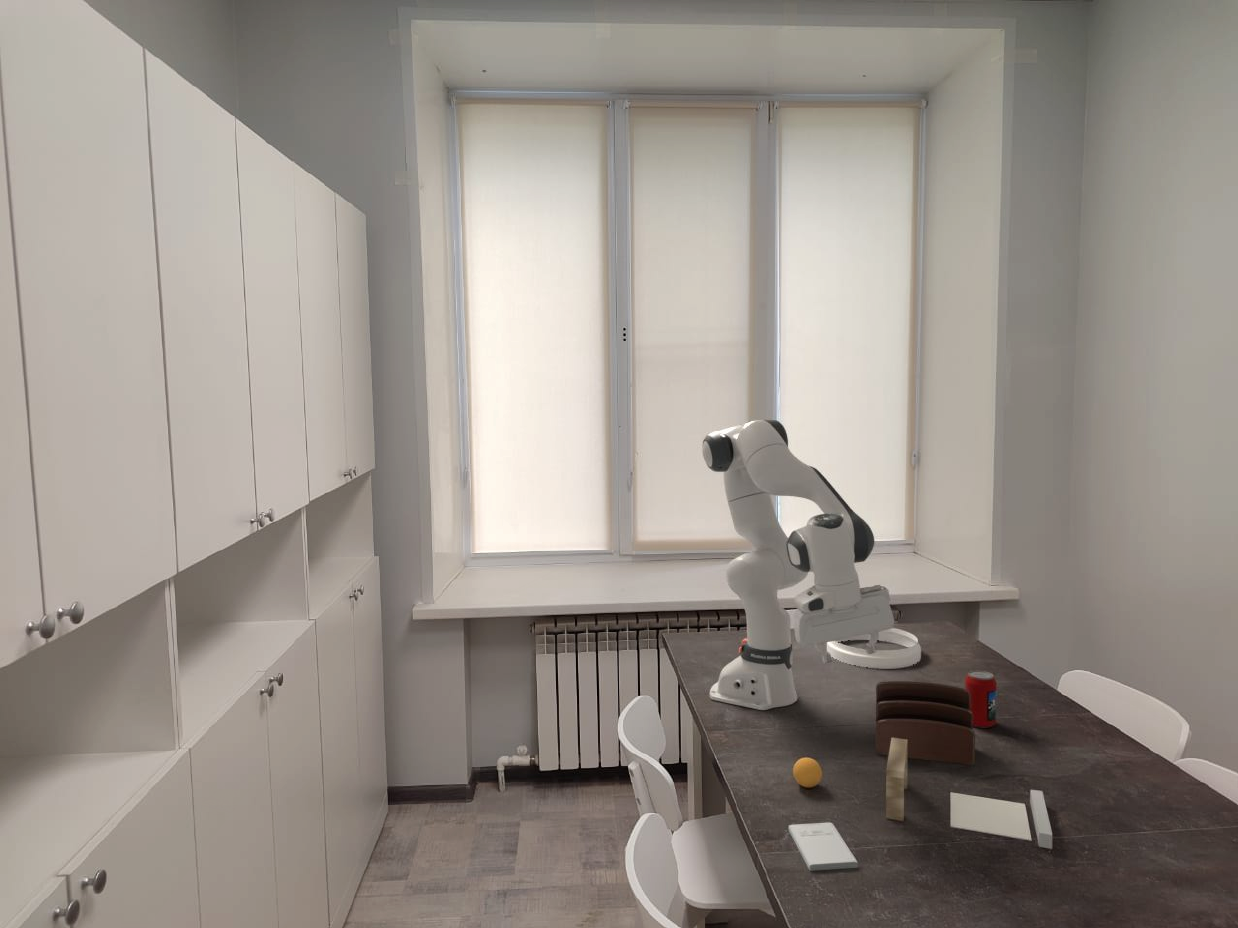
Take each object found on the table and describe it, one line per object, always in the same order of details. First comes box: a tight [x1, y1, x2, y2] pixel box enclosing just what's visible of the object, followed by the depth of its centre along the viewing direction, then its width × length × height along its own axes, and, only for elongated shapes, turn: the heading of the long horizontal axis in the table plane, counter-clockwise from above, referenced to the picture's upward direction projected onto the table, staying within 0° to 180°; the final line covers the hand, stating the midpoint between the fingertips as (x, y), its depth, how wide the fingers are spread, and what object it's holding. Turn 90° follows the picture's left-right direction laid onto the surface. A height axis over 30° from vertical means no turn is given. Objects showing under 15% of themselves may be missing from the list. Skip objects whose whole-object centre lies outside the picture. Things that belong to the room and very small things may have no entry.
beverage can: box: [964, 669, 998, 729], centre depth 186 cm, size 7×7×12 cm
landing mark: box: [949, 791, 1033, 842], centre depth 146 cm, size 13×13×1 cm
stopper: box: [1029, 789, 1053, 850], centre depth 142 cm, size 2×16×2 cm, turn 157°
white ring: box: [826, 627, 922, 670], centre depth 238 cm, size 27×27×6 cm
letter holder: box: [875, 680, 976, 766], centre depth 173 cm, size 10×20×14 cm, turn 72°
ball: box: [792, 757, 823, 788], centre depth 158 cm, size 6×6×6 cm
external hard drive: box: [788, 822, 859, 872], centre depth 137 cm, size 2×8×12 cm
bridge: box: [885, 738, 908, 822], centre depth 152 cm, size 3×15×9 cm, turn 157°
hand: (849, 657), depth 164 cm, fingers open, 8 cm apart
